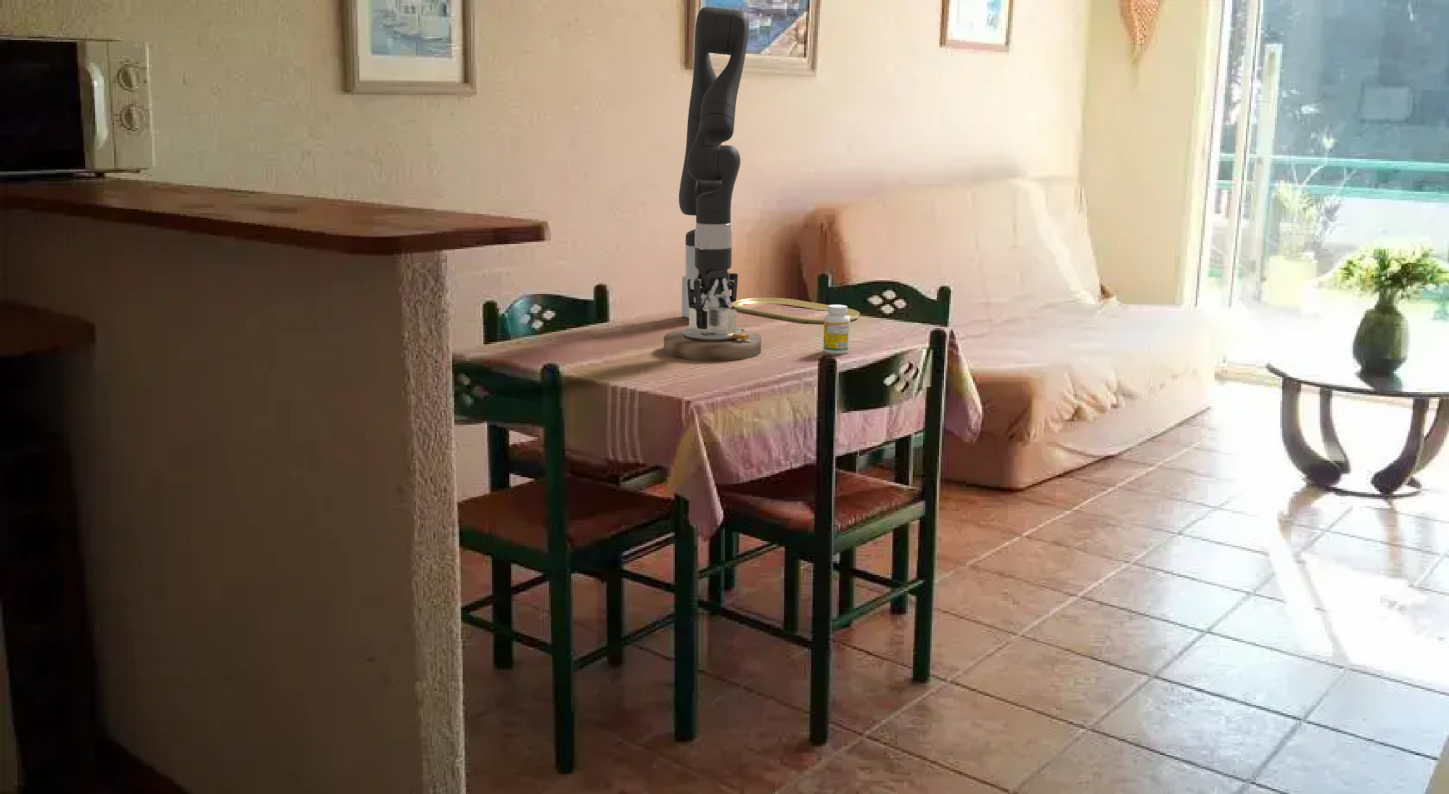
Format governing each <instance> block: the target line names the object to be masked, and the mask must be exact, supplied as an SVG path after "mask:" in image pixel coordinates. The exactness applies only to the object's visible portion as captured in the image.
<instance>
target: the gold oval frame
mask: <svg viewBox="0 0 1449 794" xmlns="http://www.w3.org/2000/svg"><path fill="white" fill-rule="evenodd" d="M743 304H749V305H756V304H757V305H758V304H760V305H761V304H776V305H779V304H780V305H789V306H790V305H791V306H794V307H795V306H796V307H801V308H808V309H814V310H820V311H826V312H828V305H829V304H825V303H818V302H817V303H816V302H814V301H813V302H810V301H805V300H800V299H793V298H783V297H782V298H781V297H752V298H751V297H750V298H743V299H738V300H736V301H735V302H732V307H733V308H734V309H735V310H737V311H739V312H743V313H748V314H753V315H759V316H764V317H770V318H775V319H781V320H786V319H788V320H789V321H793V322H799V323H805V322H808V323H807V324H824V318H807V317H806V318H805V317H797V316H791V315H786V314H782V313H774V312H770V311H769V312H768V311H763V310H758V309H752V308H746V307H743V306H745V305H743ZM846 316H848V317H849V318H850V322H852V321H854V320H856V319H858V317H859V316H860V312H859V311H858V310H856V309H852V308H848V307H847V313H846ZM788 320H787V321H788Z"/></svg>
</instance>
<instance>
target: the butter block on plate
mask: <svg viewBox="0 0 1449 794" xmlns="http://www.w3.org/2000/svg"><path fill="white" fill-rule="evenodd" d="M706 311H708V315H707V329H698V328H697V325H696V310H695V309H693V308H689V319H688V328H685V330H684V329H683V330H684V331H683V336H684V337H685V338H688V339H691V340H698V341H729V340H735V339H743V340H745V339H749V335H748V334H742V331H741V330H740V329H741V328H740V329H739V328H737V312H738V310H737V309H736V308H729V309H728V308H721V307H713V306H708V308H707V310H706Z"/></svg>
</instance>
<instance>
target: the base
mask: <svg viewBox="0 0 1449 794" xmlns="http://www.w3.org/2000/svg"><path fill="white" fill-rule="evenodd" d="M685 329H686V328H685ZM685 329H680V330H674V331H671V332H668V333H666V334H664V336H663V352H664V354H666V355H667V356H669V355H670V357H672V358H677V359H682V360H690V361H701V362H703V361H704V362H724V361H725V362H726V361H738V360H747V359H749V358H753V357H757V356H759V355H760V354H761V351H762V345H761V344H762V336H761V334H758V333H757V332H752V331H750V330H744V328H738V329H740V330H741V331H742V334H748V335H749V339H745V340H743V339H735V340H729V341H698V340H691V339H688V338H685V337H684V336H683V331H684V330H685Z"/></svg>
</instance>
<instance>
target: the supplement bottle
mask: <svg viewBox="0 0 1449 794" xmlns="http://www.w3.org/2000/svg"><path fill="white" fill-rule="evenodd" d="M827 305H828V311H827V313H828V315H826V316H825V317H824V318H823V319H824V323H823V348H822V349H823V351H824V352H825V353H827V354H830V355H845V354H848V353H849V351H850V337H851V336H850V332H851V330H850V329H851V321H850V318H849V317H850V316H849V315H847V314H846V313H847V308H848V306H847V305H844V304H827Z"/></svg>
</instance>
